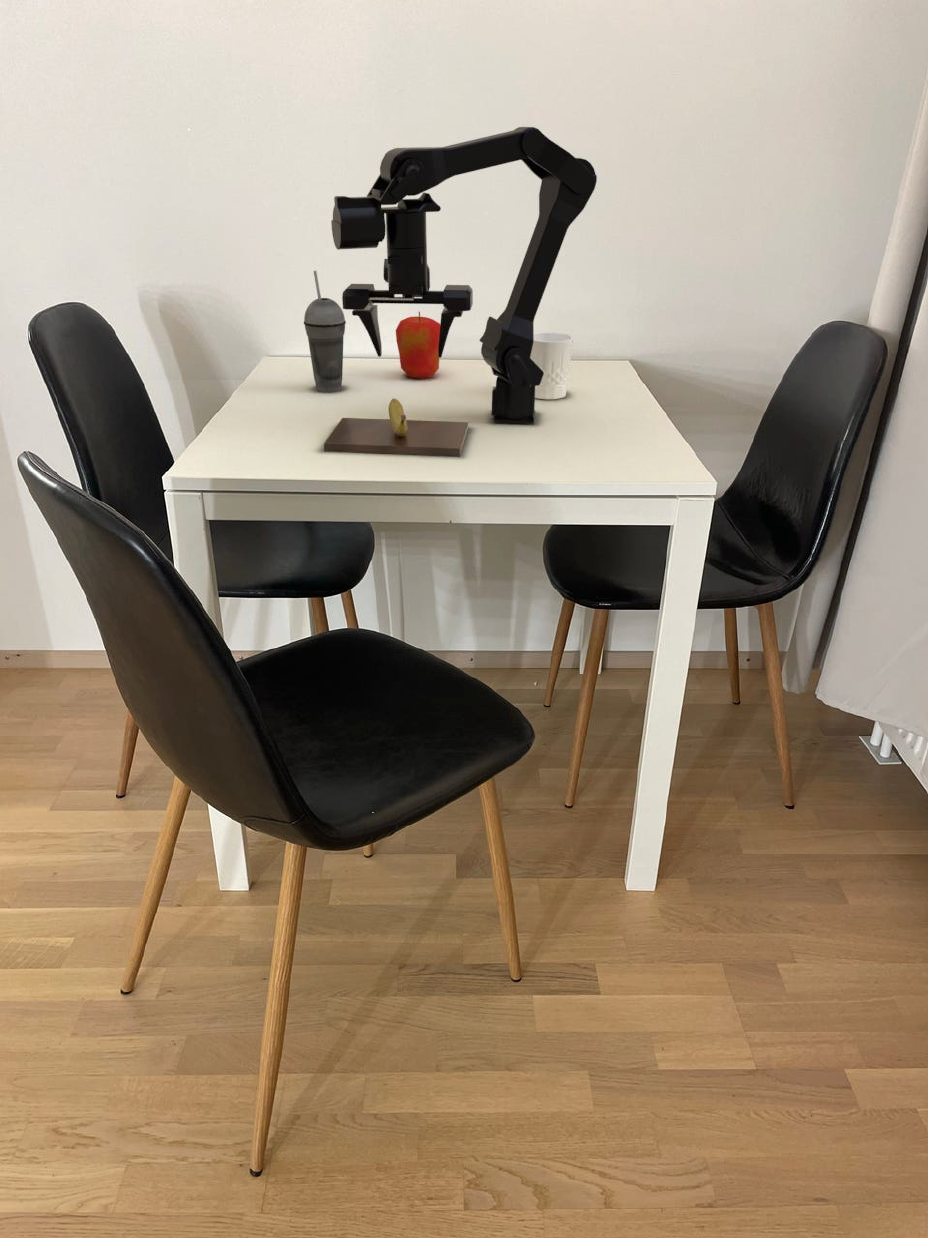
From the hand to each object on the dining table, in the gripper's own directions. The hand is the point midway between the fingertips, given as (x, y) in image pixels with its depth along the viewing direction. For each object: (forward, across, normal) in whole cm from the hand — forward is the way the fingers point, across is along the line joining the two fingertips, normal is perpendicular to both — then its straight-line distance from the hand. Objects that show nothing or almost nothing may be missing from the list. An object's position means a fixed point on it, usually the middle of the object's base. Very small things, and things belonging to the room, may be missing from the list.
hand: (409, 356), depth 140 cm
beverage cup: (+11, +18, -22) cm, 30 cm away
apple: (+11, +2, -32) cm, 35 cm away
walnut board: (+11, +1, +6) cm, 13 cm away
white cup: (+12, -21, -22) cm, 33 cm away
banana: (+10, +1, +6) cm, 12 cm away
